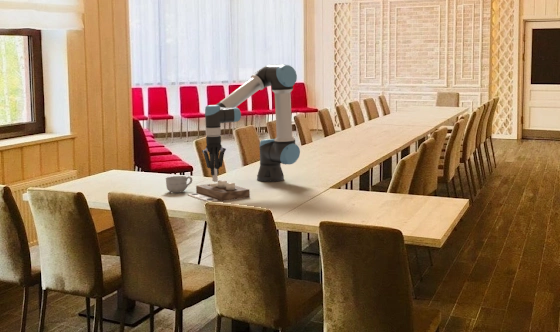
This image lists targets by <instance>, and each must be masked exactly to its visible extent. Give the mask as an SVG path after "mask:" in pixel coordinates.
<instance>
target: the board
mask: <svg viewBox="0 0 560 332" xmlns="http://www.w3.org/2000/svg"><path fill="white" fill-rule="evenodd" d="M195 187H196V188H195V189H196V190H195V191H196V192H195V193H198V194H201V195H204V196H208V197H211V198H214V199H217V200H218V201H219V202H226V201H234V200H240V199H247V198H250V197H251V196H250V195H251V194H250V192H251V191H250V189H249V188H245V187H241V186H237V185H235V190H226V187H225V188H218V186H215V187H211V186H210V183H206V184H199V185H196V186H195Z"/></svg>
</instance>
